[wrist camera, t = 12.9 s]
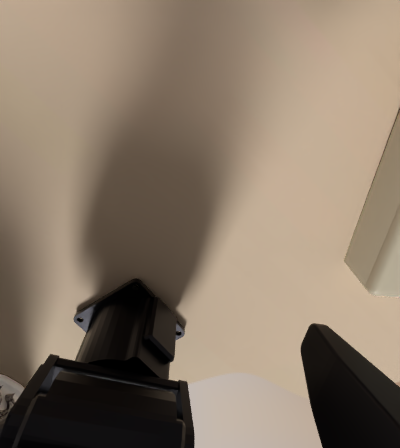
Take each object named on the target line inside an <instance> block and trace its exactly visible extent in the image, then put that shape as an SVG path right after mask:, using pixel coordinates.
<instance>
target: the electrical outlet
mask: <svg viewBox="0 0 400 448" xmlns="http://www.w3.org/2000/svg"><path fill="white" fill-rule="evenodd" d="M344 262H345V263H346V265H347V266H348V267H349V269H350V270H351V271H352V272H353V274H354V275H355V276H356V277H357V279H358V280H359V281H360V283H361V284H362V285H363V286H364V288H365V289H366V290H367V291H368V292H369V293H370V294H371V295H373V296H380V297H392V298H400V112H399V113H398V116H397V119H396V121H395V124H394V127H393V129H392V132H391V135H390V138H389V140H388V143H387V146H386V148H385V151H384V154H383V156H382V159H381V162H380V164H379V167H378V170H377V172H376V175H375V178H374V181H373V183H372V186H371V189H370V191H369V194H368V197H367V199H366V202H365V205H364V207H363V210H362V213H361V215H360V218H359V221H358V223H357V226H356V229H355V232H354V234H353V237H352V240H351V242H350V245H349V248H348V250H347V253H346V256H345V259H344Z"/></svg>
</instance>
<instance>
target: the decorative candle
mask: <svg viewBox="0 0 400 448" xmlns="http://www.w3.org/2000/svg"><path fill="white" fill-rule="evenodd" d="M24 389H25V388H24V387H23V386H22V385H21V384H20V383H18V382H16V381H14V380H13V379H11V378H9V377H8V376H6V375H2V374H0V421H1V420H2V418H3V417H4V416H5V415H6V414H7V413H8V412H9V411H10V410H11V408H12V407H13V405H14V404H15V402H16V401H17V399H18V398H19V396H20V395H21V393H22V392H23V390H24Z"/></svg>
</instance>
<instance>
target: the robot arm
mask: <svg viewBox="0 0 400 448" xmlns="http://www.w3.org/2000/svg"><path fill="white" fill-rule="evenodd" d="M134 285H138V286H139V287H135V286H134ZM79 317H80V318H83V319H80V318H79ZM74 322H75V323H76V324H77V325H78V326H79V327H81V328H82V329H83V330H84V331H85V332H86V335H85V337H84V340H83V342H82V344H81V347H80V349H79V352H78V354H77V357H76V359H75V361H73V360H68V359H63V358H59V356H57V355H52V354H50V355H49V357H48V358H47V360H46V361H45V363H44V364H41V365H40V367H39V368H38V370H37V371H36V373H35V374H34V376H33V377H32V379H31V380H30V382H29V383H28V385H27V386H26V387H25V389H24V390H23V392H22V393H21V395H20V396H19V398H18V399H17V401H16V402H15V404H14V405H13V407H12V408H11V410H10V411H9V412H8V413H7V414H6V415H5V416H4V417H3V418H2V420H1V421H0V448H194V427H193V420H192V413H191V406H190V399H189V391H188V384H187V382H186V381H181V380H179V381H173V380H168V379H169V366H170V362H172V361H173V360H174V356H175V341H176V340H178V339H179V338H181V337H183V336H184V334H185V329H184V327H183V326H182V325H181V324H180V323H179V322H178V320H177V317H176V316H175V315H174V314H173V313H172V312H171V310H170V309H169V308H168V307H167V306H166V305H165V304H164V303H163V302H162V301H161V299H160V298H158V297H156V296H155V295H154V294H153V293H152V292H151V291H150V290H149V289H148V288H147V286H146V285H145V284H144V283H143V282H142V281H141V280H139V279H133V280H131V281H129V282H128V283H126V284H124V285H123V286H121V287H119V288H118V289H116V290H114V291H112V292H111V293H109V294H107V295H106V296H104V297H102V298H101V299H99V300H97V301H96V302H94V303H92V304H91V305H89V306H87V307H86V308H84V309H82V310H80V311H79V312H77V313H76V314H75V317H74ZM177 331H180V332H177ZM301 356H302V361H303V367H304V372H305V378H306V383H307V389H308V394H309V399H310V404H311V408H312V412H313V416H314V419H315V423H316V426H317V430H318V433H319V437H320V440H321V443H322V447H323V448H400V387H399V386H398V385H396V384H395V383H394V382H393V381H392V380H390V379H389V378H388V377H387V376H386V375H385V374H383V373H382V372H381V371H380V370H379V369H378V368H376V367H375V366H374V365H373V364H372V363H370V362H369V361H368V360H367V359H366V358H365V357H363V356H362V355H361V354H360V353H359V352H358V351H356V350H355V349H354V348H353V347H352V346H350V345H349V344H348V343H347V342H346V341H345V340H343V339H342V338H341V337H340V336H339V335H337V334H336V333H335V332H334V331H333V330H332V329H330V328H329V327H328V326H326V325H323V324H315V323H313V324H311V325H310V326H309V328H308V330H307V333H306V335H305V337H304V339H303V342H302V344H301Z"/></svg>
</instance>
